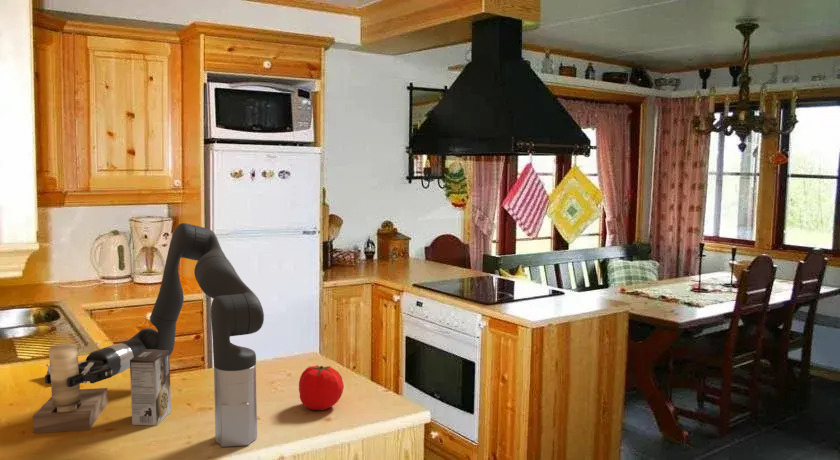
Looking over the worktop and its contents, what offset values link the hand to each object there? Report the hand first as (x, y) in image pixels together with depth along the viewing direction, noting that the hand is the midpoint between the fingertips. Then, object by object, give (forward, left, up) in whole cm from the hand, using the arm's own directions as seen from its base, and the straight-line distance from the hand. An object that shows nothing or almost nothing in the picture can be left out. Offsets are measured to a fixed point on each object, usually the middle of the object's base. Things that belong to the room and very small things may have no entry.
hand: (57, 381), depth 164 cm
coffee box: (+3, -20, -11) cm, 23 cm away
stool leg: (+2, -1, -9) cm, 10 cm away
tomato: (+4, -61, -11) cm, 62 cm away
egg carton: (+38, +10, -12) cm, 41 cm away
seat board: (+7, -1, -11) cm, 13 cm away
